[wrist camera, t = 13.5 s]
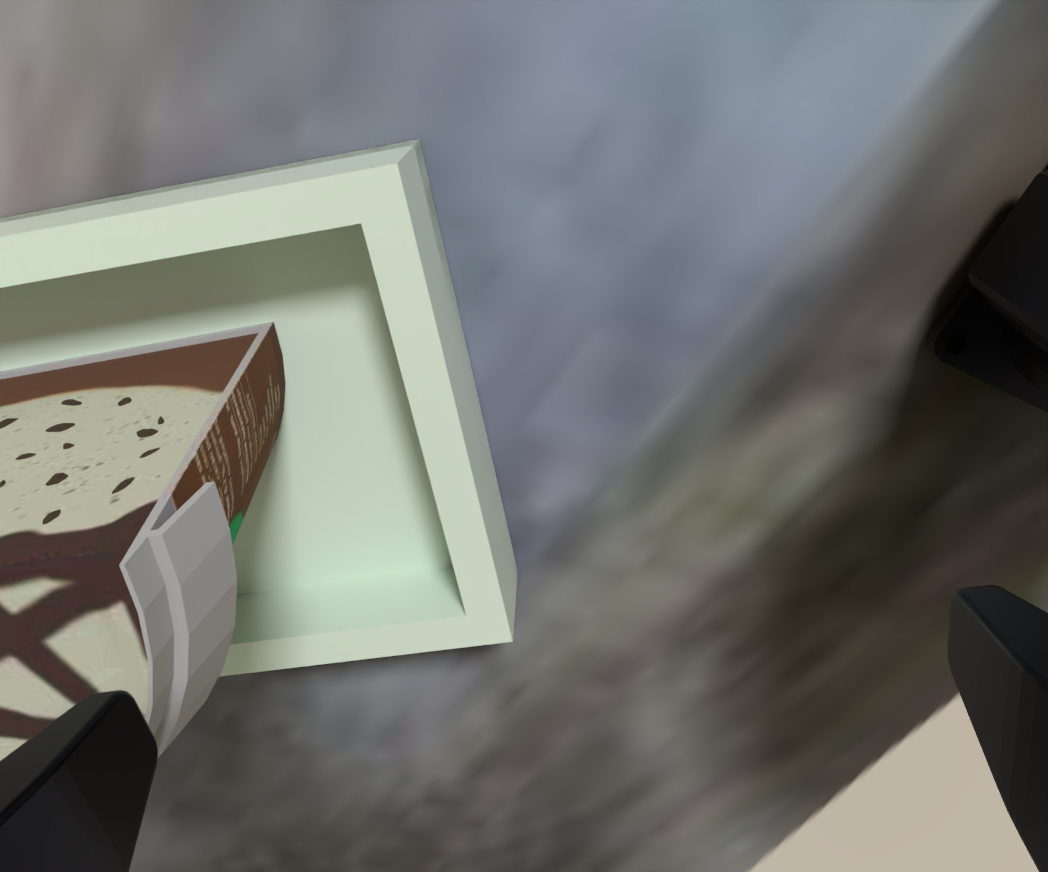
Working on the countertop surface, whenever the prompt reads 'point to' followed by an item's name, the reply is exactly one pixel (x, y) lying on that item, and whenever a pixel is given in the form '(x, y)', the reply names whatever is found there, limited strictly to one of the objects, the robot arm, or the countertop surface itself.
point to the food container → (128, 522)
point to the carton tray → (304, 389)
